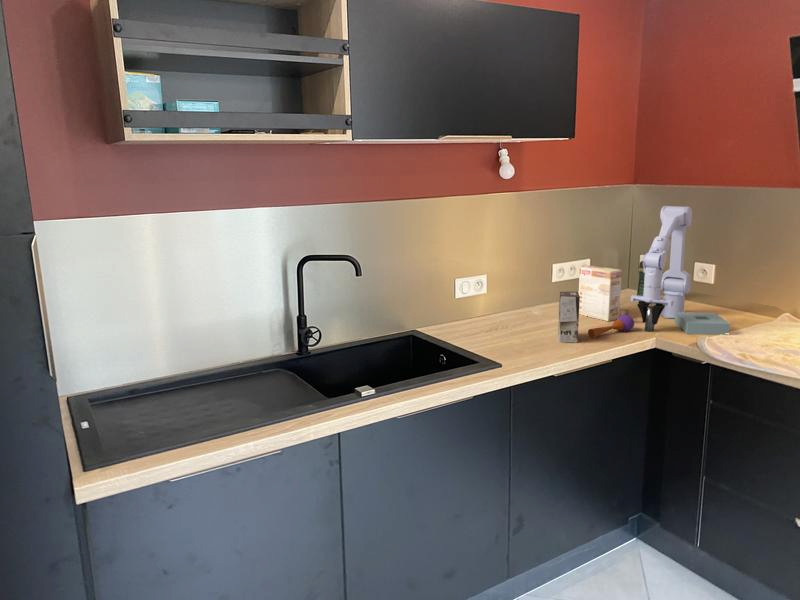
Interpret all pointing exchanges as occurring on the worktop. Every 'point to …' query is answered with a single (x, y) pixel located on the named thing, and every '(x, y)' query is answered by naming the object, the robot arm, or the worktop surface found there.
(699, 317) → the hole block
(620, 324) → the kendama
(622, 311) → the short pin
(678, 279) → the robot arm
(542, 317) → the worktop surface
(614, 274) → the coffeecake box
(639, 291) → the coffee jar
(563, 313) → the coffee box
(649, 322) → the long pin
